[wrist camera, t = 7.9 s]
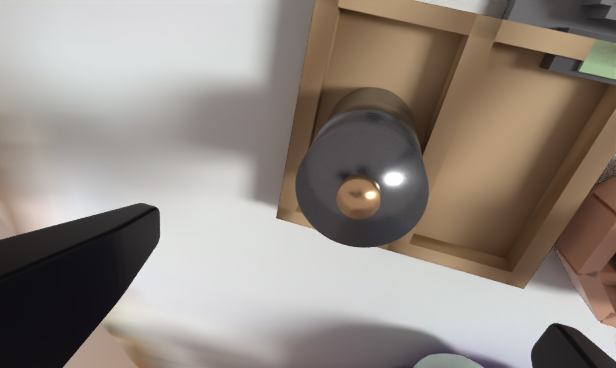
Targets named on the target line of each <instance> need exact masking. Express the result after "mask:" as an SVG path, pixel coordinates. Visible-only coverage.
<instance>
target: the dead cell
mask: <svg viewBox="0 0 616 368" xmlns="http://www.w3.org/2000/svg"><path fill="white" fill-rule="evenodd" d="M607 263H608V264H609V265H610V266H611V268H612V269H613V270H614V271H615V272H616V252H615V254H614V255H613V256H612V257H611V259H610V260H609V261H608V262H607Z"/></svg>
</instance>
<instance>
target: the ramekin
mask: <svg viewBox="0 0 616 368" xmlns="http://www.w3.org/2000/svg"><path fill="white" fill-rule="evenodd" d="M555 247H556V249H557V252H558V256H559V259H560V261H561V263H562V264H563V266H564V268H565V269H566V270H567V273H568V275H569V277H570V279H571V281H572V283H573V285H574V287H575V289H576V290H577V292H578V293H579V295H580V296H581V297H582V299H583V300H584V302H585V303H586V305H587V306H588V307H589V309H590V310H591V312H592V313H593V314H594V316H595V317H596V319H597V320H598V321H600V322H601V323H603V324H606V325H610V326H613V327H616V272H615V271H614V270H613V269H612V268H611V266H610V265H609V264H608V263H607V262H608V261H609V260H610V259H611V257H612V256H613V255H614V254H615V252H616V176H614V177H611V178H609V179H607V180H605V181H604V182H602V183H600V184H598V185H597V186H595V187H594V188H592V189H591V190H590V192H589V193H588V195H587V196H586V198H585V199H584V201H583V202H582V204H581V205H580V206H579V208H578V209H577V211H576V212H575V214H574V215H573V217H572V218H571V220H570V221H569V223H568V224H567V226H566V227H565V229H564V230H563V232H562V233H561V235H560V236H559V238H558V239H557V242H556V246H555Z"/></svg>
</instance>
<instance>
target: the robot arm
mask: <svg viewBox="0 0 616 368" xmlns="http://www.w3.org/2000/svg"><path fill="white" fill-rule="evenodd" d="M159 238H160V212H159V209H158V208H157V207H155V206H151V205H148V204H144V203H138V204H134V205H131V206H127V207H123V208H119V209H115V210H112V211H108V212H104V213H100V214H96V215H93V216H89V217H85V218H81V219H77V220H73V221H70V222H66V223H62V224H58V225H54V226H51V227H47V228H43V229H39V230H35V231H32V232H28V233H24V234H20V235H16V236H13V237H9V238H5V239H1V240H0V368H63V367H64V365H65V364H66V363H67V362H68V361H69V360H70V358H71V357H72V356H73V355H74V354H75V352H76V351H77V350H78V349H79V348H80V346H81V345H82V344H83V343H84V342H85V340H86V339H87V338H88V337H89V336H90V334H91V333H92V332H93V331H94V330H95V329H96V327H97V326H98V325H99V324H100V323H101V321H102V320H103V319H104V318H105V317H106V315H107V314H108V313H109V312H110V311H111V309H112V308H113V307H114V306H115V305H116V303H117V302H118V301H119V300H120V298H121V297H122V296H123V294H124V293H125V291H126V290H127V289H128V287H129V286H130V284H131V283H132V281H133V280H134V278H135V277H136V275H137V274H138V272H139V271H140V269H141V268H142V266H143V265H144V263H145V262H146V260H147V259H148V258H149V256H150V255H151V253H152V252H153V250H154V249H155V247H156V246H157V244H158V242H159ZM531 360H532V366H533V368H616V362H615V361H614V360H613V359H612V358H611V357H610V356H608V355H607V354H606V353H605V352H604V351H602V350H601V349H600V348H599V347H598V346H596V345H595V344H594V343H593V342H592V341H591V340H589V339H588V338H587V337H586V336H585V335H583V334H582V333H581V332H580V331H579V330H577V329H575V328H572V327H569V326H566V325H562V324H559V323H553V324H551V325H550V326H549V327H548V328H547V329H546V330H545V332H544V333H543V334H542V336H541V337H540V338H539V340H538V341H537V342H536V343H535V345H534V346H533V348H532V352H531Z"/></svg>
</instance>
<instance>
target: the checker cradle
mask: <svg viewBox="0 0 616 368" xmlns="http://www.w3.org/2000/svg"><path fill="white" fill-rule="evenodd" d="M503 19H504V20H509V21H513V22H518V23H523V24H527V25H532V26H537V27H542V28H546V29H551V30H556V31H560V32H565V33H570V34H575V35H579V36H584V37H589V38H593V39H596V41H598V42H597V46H596V47H595V48H593V47H594V45H593V47H592V48H593V49H594V50H593V49H591V50H592V51H591V50H590V52H589V53H590V54H588V56H587V58H586V59H585V61H583V60H578V59H574V58H569V57H564V56H560V55H555V54H550V53H545V55H544V57H543V59H542V61H541V63H540V65H539V67H540V68H543V69H547V70H551V71H555V72H560V73H563V74H568V75H573V76H577V77H582V78H586V79H591V80H595V81H600V82H604V83H609V84H613V85H616V57H615V56H616V54H615V53H614V54H613V52H614V50H613V49H612V51H613V52H612V51H611V48H615V47H616V0H510V2H509V4H508V7H507V9H506V11H505V14H504V16H503ZM599 40H601V41H602V40H603V41H604V42H603V43H602V42H601V41H600V42H601V43H599ZM596 41H595V44H596ZM605 41H606V44H607V43H608V42H610V43H611V42H612V43H613V44H612V43H611V44H612V45H611V44H610V46H609V44H608V45H606V44H604V43H605ZM614 43H615V47H612V46H613V45H614ZM602 44H604V46H603V47H604V48H605V45H606V46H608V47H610V50H609V49H608V50H607V49H606V50H607V52H608V51H611V52H612V53H611V52H608V53H609V54H607V52H606V50H605V49H604V48H603V47H599V45H601V46H602ZM496 47H497V46H496ZM597 47H598V48H597ZM608 47H607V48H608ZM601 48H603V49H604V51H603V49H602V50H601ZM595 49H596V50H597V49H599V50H600V53H599V54H601V53H602V52H603V53H602V54H601V55H602V56H601V55H599V54H598V51H596V50H595ZM595 51H596V53H595ZM539 52H540V51H539ZM605 52H606V54H607V55H606V56H604V53H605ZM593 53H594V54H595V55H594V54H593ZM512 54H513V53H512ZM597 54H598V55H599V56H600V57H599V56H598V55H597ZM612 54H613V55H612ZM500 55H501V54H500ZM591 55H593V56H592V57H593V58H594V60H593V58H590V57H591ZM527 56H528V55H527ZM597 56H598V57H597ZM603 56H604V57H603ZM607 56H609V57H608V58H607ZM610 56H611V57H612V58H614V60H613V62H612V60H611V58H610ZM519 57H520V56H519ZM588 57H589V58H590V59H589V58H588ZM595 57H596V58H595ZM502 58H503V57H502ZM494 59H495V57H494ZM523 59H524V58H523ZM588 59H589V60H588ZM597 59H598V60H597ZM604 59H605V60H606V61H607V62H608V64H609V65H608V64H606V61H605V60H604ZM608 59H609V60H610V62H612V63H611V64H610V62H609V61H608ZM603 60H604V62H603ZM502 61H503V60H502ZM587 61H588V62H587ZM589 61H590V62H589ZM597 61H598V62H599V63H598V62H597ZM594 62H595V63H594ZM602 62H603V63H602ZM614 62H615V63H614ZM517 63H518V62H517ZM607 65H608V66H607ZM611 65H612V66H611ZM610 66H611V67H610ZM613 66H614V67H613ZM534 68H535V67H534ZM504 69H505V68H504ZM536 70H537V69H536ZM548 72H549V71H548ZM509 73H510V72H509ZM528 76H529V75H528ZM513 77H514V76H513ZM534 78H535V77H534ZM537 81H538V80H537ZM602 86H603V85H602Z"/></svg>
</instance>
